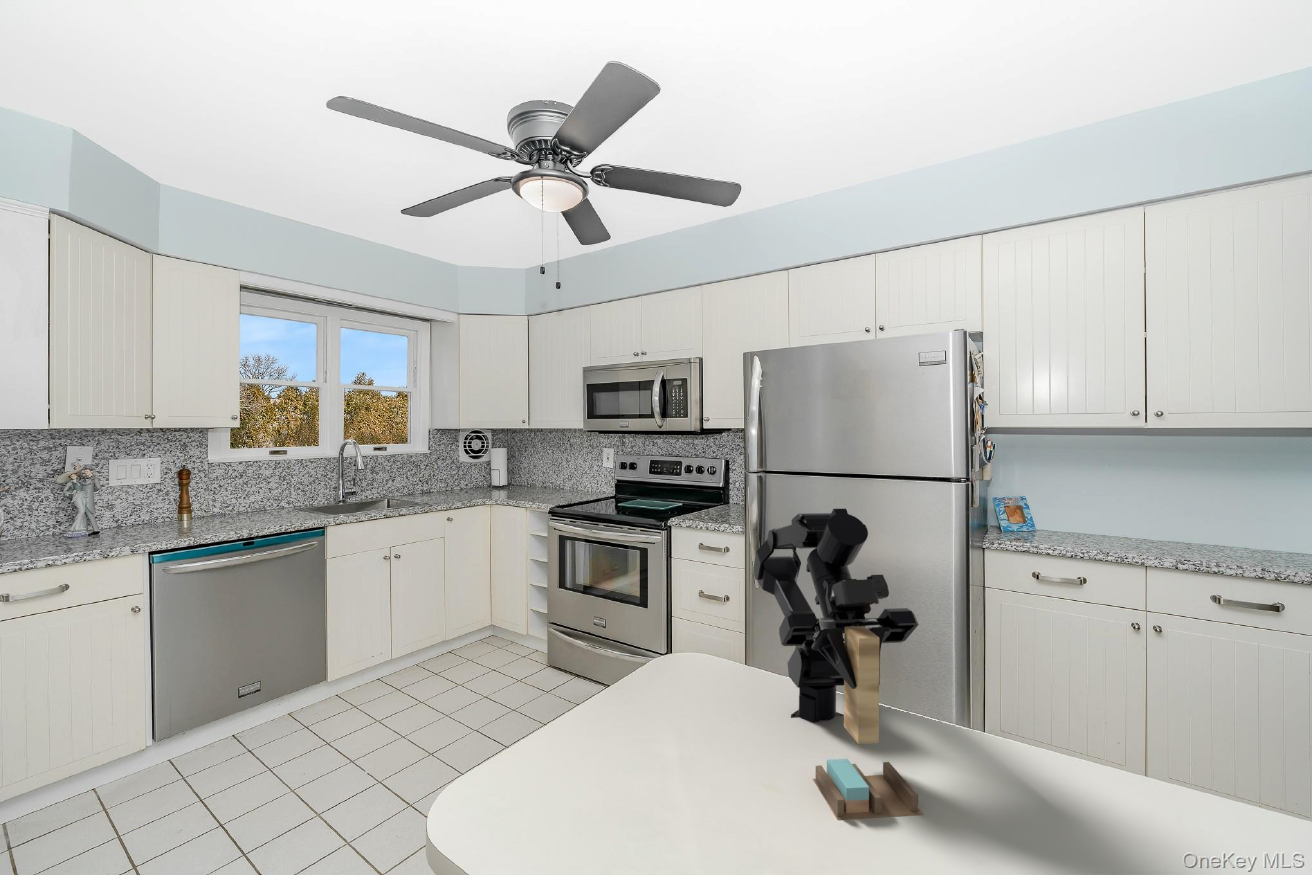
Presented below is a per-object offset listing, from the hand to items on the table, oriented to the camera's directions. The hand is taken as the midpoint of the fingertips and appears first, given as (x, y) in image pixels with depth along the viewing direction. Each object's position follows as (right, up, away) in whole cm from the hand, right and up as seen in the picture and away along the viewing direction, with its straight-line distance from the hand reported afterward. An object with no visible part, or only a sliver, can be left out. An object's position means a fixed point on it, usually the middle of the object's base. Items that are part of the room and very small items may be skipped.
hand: (865, 687), depth 76 cm
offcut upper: (-4, -10, -5) cm, 12 cm away
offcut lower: (-4, -12, -5) cm, 13 cm away
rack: (-2, -13, -5) cm, 14 cm away
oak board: (0, -7, +1) cm, 7 cm away
